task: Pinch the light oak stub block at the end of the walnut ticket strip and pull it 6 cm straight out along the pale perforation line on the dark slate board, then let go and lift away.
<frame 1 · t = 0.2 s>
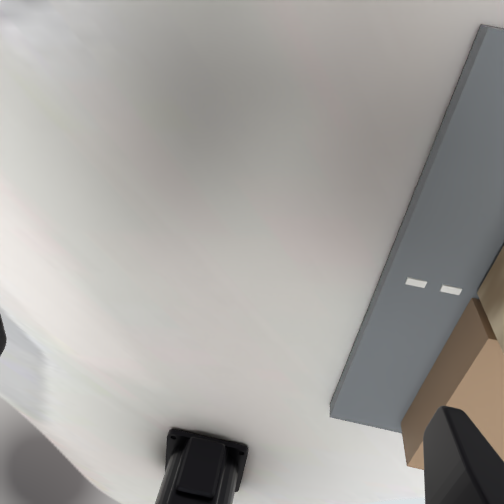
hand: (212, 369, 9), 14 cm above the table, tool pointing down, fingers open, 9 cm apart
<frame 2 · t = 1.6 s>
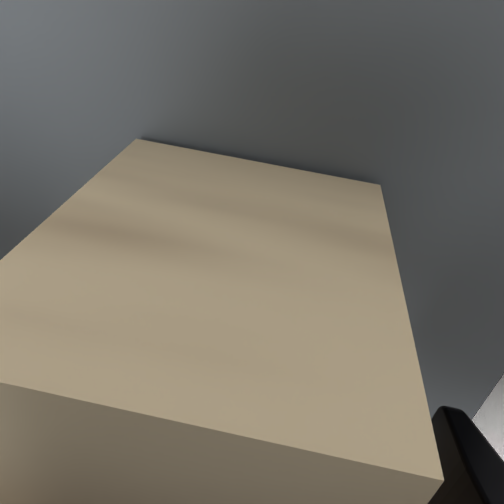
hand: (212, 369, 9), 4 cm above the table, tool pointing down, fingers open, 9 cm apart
stub: (207, 393, 8), point 4 cm above the table, slide at 0.0 cm
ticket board: (228, 366, 14), on the table
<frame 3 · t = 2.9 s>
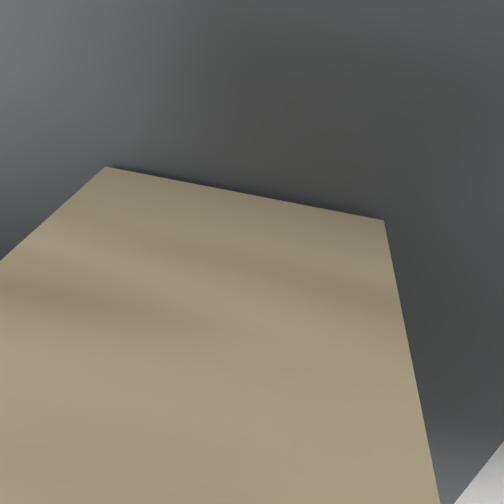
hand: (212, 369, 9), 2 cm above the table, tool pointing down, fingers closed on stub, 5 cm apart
stub: (185, 462, 7), point 4 cm above the table, slide at 0.0 cm, touching gripper
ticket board: (218, 402, 13), on the table
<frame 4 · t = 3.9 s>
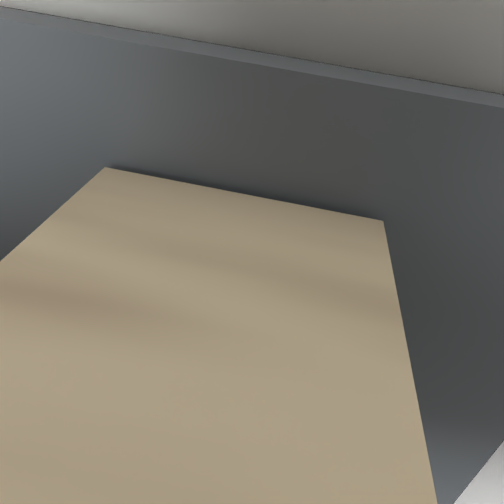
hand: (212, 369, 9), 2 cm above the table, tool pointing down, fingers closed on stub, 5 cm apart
stub: (184, 462, 7), point 4 cm above the table, slide at 2.4 cm, touching gripper
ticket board: (211, 447, 14), on the table
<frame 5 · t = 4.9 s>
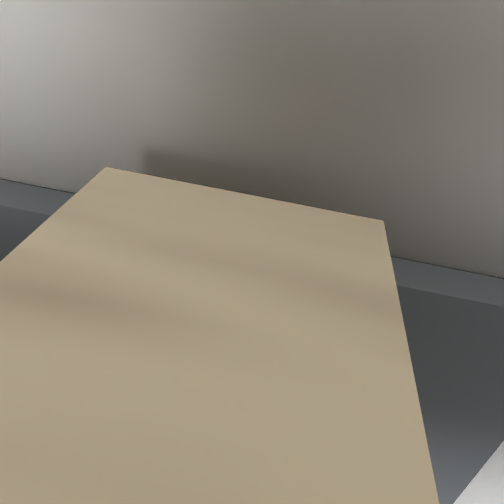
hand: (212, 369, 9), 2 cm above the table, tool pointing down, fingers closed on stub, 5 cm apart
stub: (185, 462, 7), point 4 cm above the table, slide at 5.9 cm, touching gripper
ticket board: (203, 501, 16), on the table
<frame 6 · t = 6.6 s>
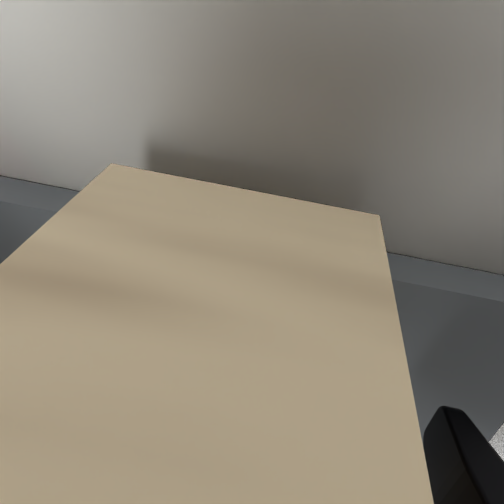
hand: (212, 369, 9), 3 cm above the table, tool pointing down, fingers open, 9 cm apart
stub: (188, 447, 7), point 4 cm above the table, slide at 5.9 cm
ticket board: (204, 494, 17), on the table
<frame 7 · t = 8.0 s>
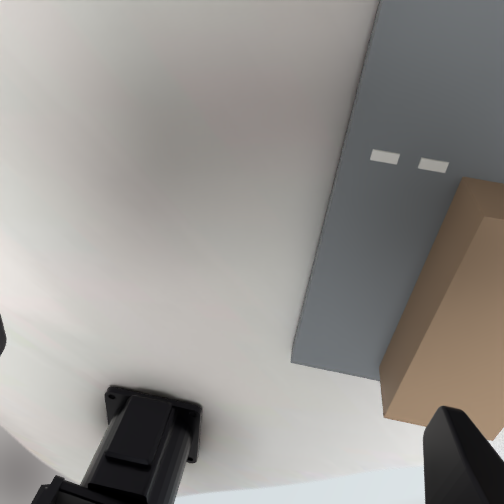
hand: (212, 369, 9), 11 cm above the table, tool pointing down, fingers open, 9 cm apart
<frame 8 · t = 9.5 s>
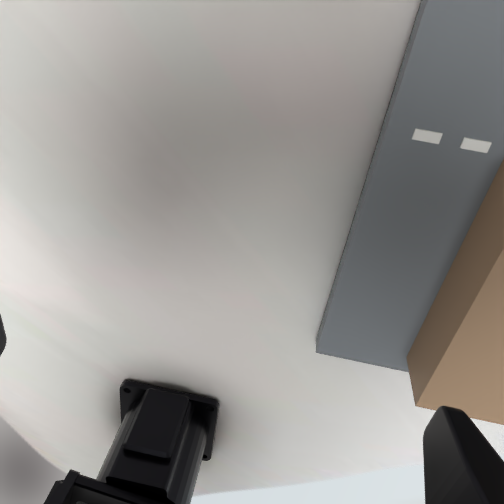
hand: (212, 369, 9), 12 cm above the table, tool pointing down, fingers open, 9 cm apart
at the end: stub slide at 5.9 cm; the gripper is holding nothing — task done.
